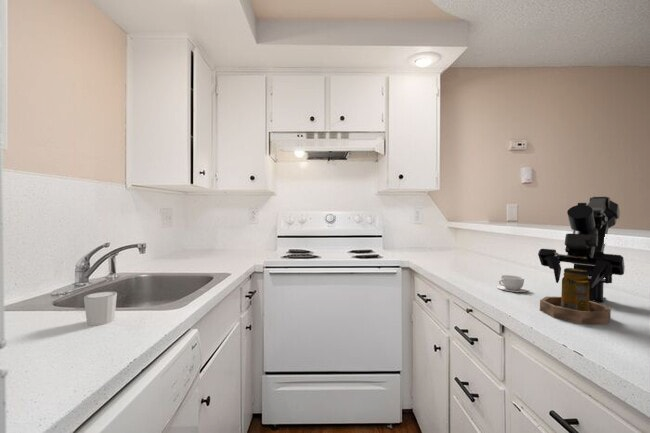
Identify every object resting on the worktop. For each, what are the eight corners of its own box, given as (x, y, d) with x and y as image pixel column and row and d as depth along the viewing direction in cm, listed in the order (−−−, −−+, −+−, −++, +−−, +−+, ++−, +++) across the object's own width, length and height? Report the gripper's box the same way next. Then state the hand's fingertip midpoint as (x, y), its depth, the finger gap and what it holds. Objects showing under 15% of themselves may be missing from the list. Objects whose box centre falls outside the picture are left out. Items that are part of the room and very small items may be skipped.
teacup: (515, 286, 119) (515, 274, 119) (535, 293, 109) (535, 280, 109) (490, 286, 119) (491, 274, 119) (508, 293, 109) (508, 280, 109)
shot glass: (78, 327, 74) (78, 299, 74) (91, 318, 81) (91, 291, 81) (111, 325, 76) (110, 297, 76) (121, 316, 83) (121, 290, 83)
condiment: (588, 311, 88) (589, 269, 87) (594, 319, 81) (595, 273, 80) (556, 306, 92) (557, 266, 91) (559, 314, 85) (560, 270, 84)
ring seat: (550, 303, 96) (550, 294, 96) (613, 315, 85) (613, 305, 85) (535, 313, 87) (535, 302, 87) (603, 328, 76) (603, 316, 76)
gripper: (540, 222, 95) (527, 261, 88) (624, 224, 81) (616, 271, 74) (547, 245, 101) (536, 284, 94) (627, 252, 86) (620, 298, 79)
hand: (573, 284), depth 85 cm, fingers open, 7 cm apart
